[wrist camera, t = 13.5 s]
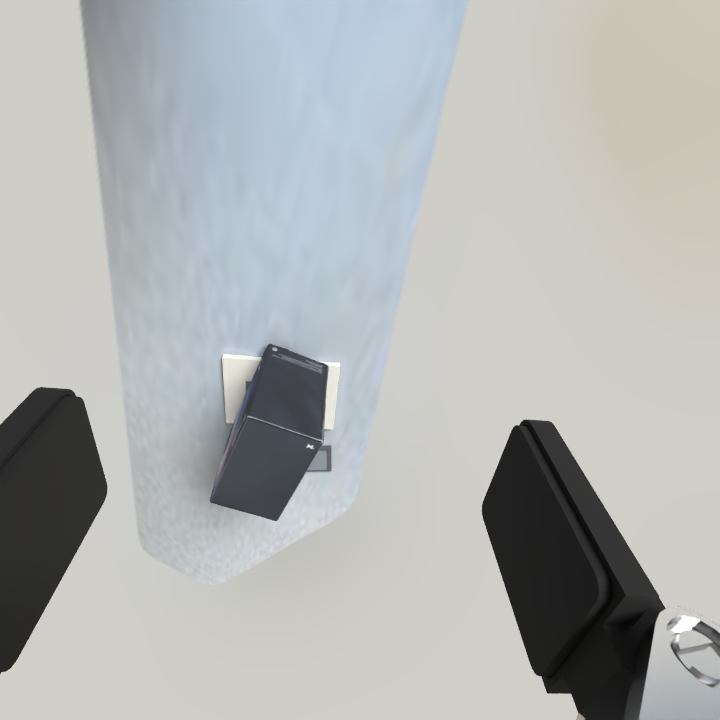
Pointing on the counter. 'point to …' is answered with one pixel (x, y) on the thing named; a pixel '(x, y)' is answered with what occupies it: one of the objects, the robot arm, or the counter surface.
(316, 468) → the phone
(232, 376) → the outlet plate
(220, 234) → the counter surface
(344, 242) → the counter surface
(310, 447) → the small box
